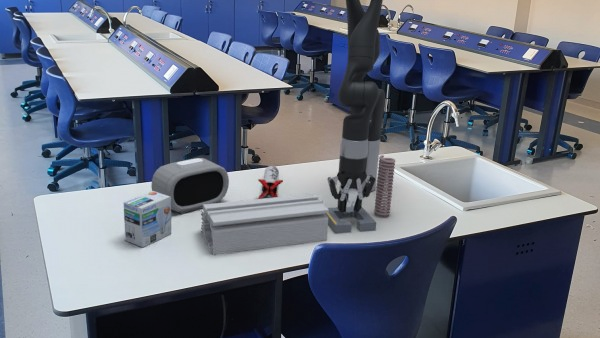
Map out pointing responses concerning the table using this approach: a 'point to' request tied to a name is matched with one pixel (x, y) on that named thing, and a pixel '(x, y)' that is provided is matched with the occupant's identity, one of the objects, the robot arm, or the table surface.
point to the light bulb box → (147, 218)
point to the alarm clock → (191, 183)
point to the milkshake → (350, 203)
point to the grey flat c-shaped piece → (338, 226)
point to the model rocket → (270, 182)
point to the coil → (381, 191)
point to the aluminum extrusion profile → (264, 223)
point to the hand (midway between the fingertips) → (349, 210)
